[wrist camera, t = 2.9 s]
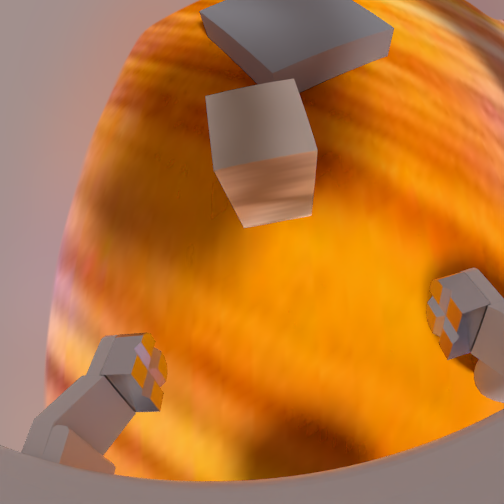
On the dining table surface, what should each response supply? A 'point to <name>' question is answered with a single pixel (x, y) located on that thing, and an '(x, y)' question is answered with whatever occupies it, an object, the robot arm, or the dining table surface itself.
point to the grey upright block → (263, 151)
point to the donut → (489, 382)
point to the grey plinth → (297, 38)
